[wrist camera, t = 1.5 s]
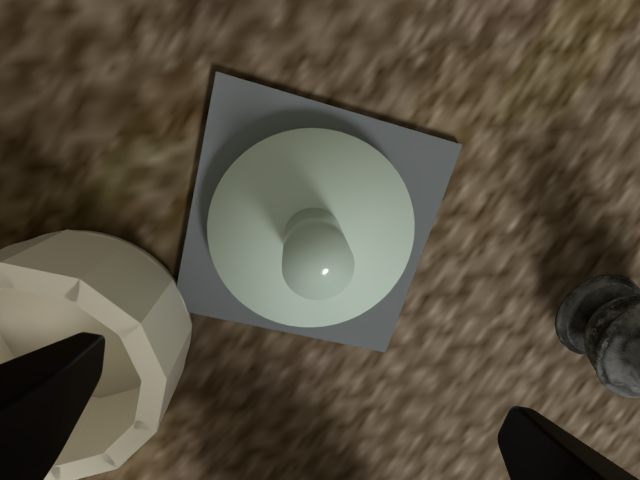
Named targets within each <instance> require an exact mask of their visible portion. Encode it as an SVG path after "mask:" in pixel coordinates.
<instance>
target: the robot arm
mask: <svg viewBox="0 0 640 480" xmlns="http://www.w3.org/2000/svg"><path fill="white" fill-rule="evenodd" d="M104 352H105V337H104V336H103V335H99V334H94V333H88V332H81V333H78V334H75V335H73V336H70V337H68V338H65V339H63V340H60V341H57V342H55V343H52V344H50V345H47V346H45V347H42V348H40V349H37V350H35V351H32V352H29V353H27V354H24V355H22V356H19V357H17V358H14V359H12V360H9V361H7V362H4V363H1V364H0V480H44V478H45V477H46V476H47V474H48V473H49V471H50V470H51V468H52V466H53V465H54V463H55V462H56V460H57V459H58V457H59V455H60V453H61V452H62V450H63V448H64V446H65V444H66V443H67V441H68V439H69V437H70V435H71V433H72V431H73V430H74V428H75V426H76V424H77V422H78V420H79V418H80V416H81V415H82V413H83V411H84V409H85V407H86V405H87V403H88V401H89V400H90V398H91V396H92V394H93V392H94V390H95V388H96V386H97V385H98V383H99V380H100V378H101V375H102V370H103V361H104ZM498 444H499V448H500V451H501V453H502V456H503V459H504V462H505V465H506V468H507V471H508V474H509V476H510V479H511V480H639V479H637V478H636V477H634V476H633V475H631V474H630V473H628V472H627V471H625V470H624V469H622V468H621V467H619V466H618V465H616V464H615V463H613V462H612V461H610V460H609V459H607V458H606V457H604V456H603V455H601V454H600V453H598V452H597V451H595V450H594V449H592V448H590V447H589V446H587V445H586V444H584V443H583V442H581V441H580V440H578V439H577V438H575V437H574V436H572V435H571V434H569V433H568V432H566V431H565V430H563V429H562V428H560V427H559V426H557V425H556V424H554V423H553V422H551V421H550V420H548V419H547V418H545V417H544V416H542V415H541V414H539V413H538V412H536V411H535V410H533V409H531V408H526V407H520V406H514V407H512V408H511V409H510V410H509V412H508V414H507V416H506V418H505V420H504V422H503V425H502V427H501V429H500V431H499V433H498Z"/></svg>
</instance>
